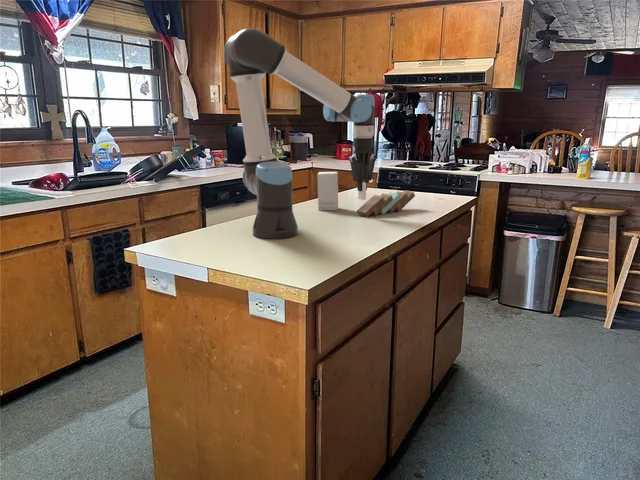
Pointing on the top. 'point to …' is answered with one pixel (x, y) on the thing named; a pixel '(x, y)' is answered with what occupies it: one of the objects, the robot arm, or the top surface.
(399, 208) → the domino
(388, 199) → the domino
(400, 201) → the domino
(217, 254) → the top surface
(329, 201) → the skincare box
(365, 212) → the domino
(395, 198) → the teal tile
